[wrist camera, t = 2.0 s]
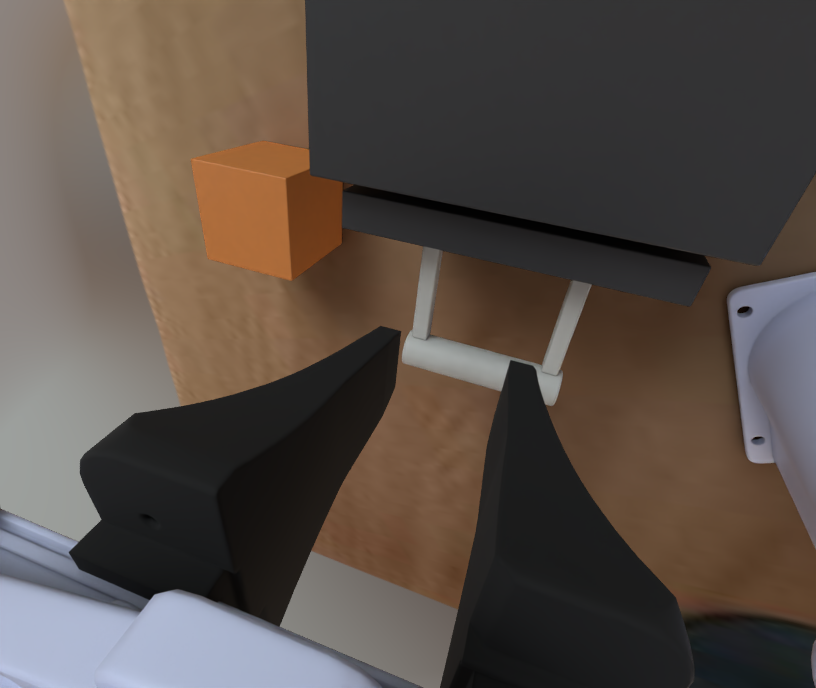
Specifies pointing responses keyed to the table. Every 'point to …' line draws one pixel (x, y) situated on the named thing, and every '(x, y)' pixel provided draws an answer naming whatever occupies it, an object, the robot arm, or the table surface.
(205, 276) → the table surface
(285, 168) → the block
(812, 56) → the charcoal grey pedestal
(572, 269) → the dark grey drawer
